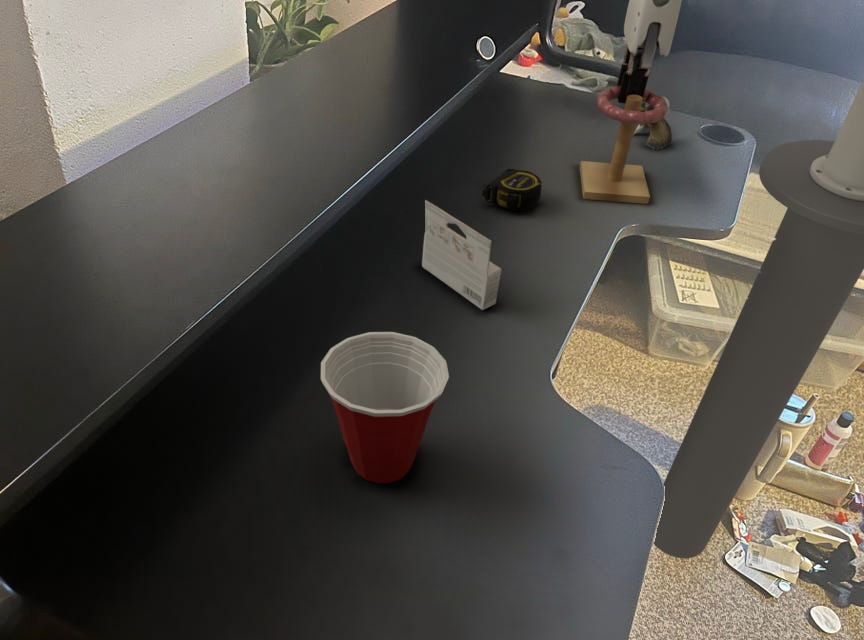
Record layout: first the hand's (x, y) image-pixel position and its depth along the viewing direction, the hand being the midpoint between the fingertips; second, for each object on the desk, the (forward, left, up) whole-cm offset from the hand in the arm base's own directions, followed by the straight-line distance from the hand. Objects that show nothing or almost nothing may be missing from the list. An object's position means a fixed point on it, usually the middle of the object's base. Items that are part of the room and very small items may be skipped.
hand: (628, 97), depth 102 cm
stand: (0, +4, -12) cm, 12 cm away
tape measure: (+15, +11, -12) cm, 22 cm away
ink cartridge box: (+21, +31, -12) cm, 39 cm away
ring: (0, +4, +1) cm, 4 cm away
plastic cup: (+26, +59, -12) cm, 66 cm away
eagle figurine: (-7, -13, -12) cm, 19 cm away
